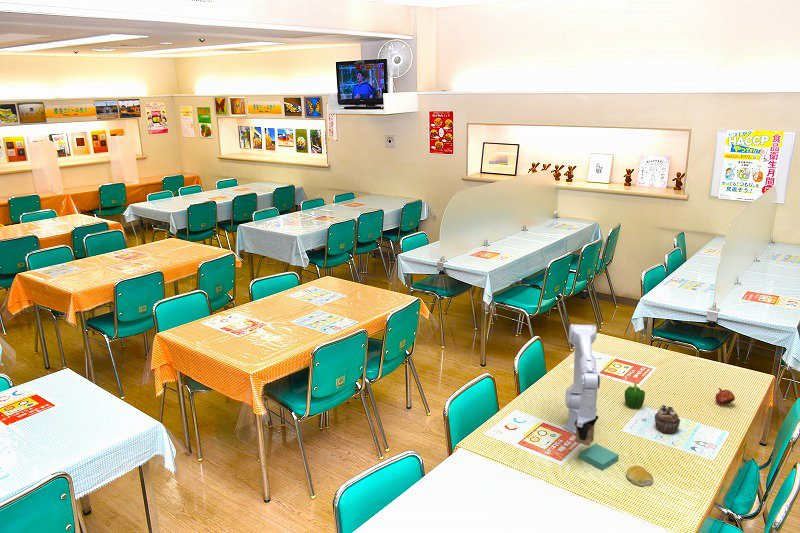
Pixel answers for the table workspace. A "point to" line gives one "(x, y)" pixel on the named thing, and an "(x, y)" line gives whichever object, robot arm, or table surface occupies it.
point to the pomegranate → (724, 397)
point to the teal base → (598, 456)
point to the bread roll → (639, 476)
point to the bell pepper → (634, 397)
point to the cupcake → (667, 420)
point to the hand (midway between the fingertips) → (585, 436)
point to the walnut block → (588, 439)
